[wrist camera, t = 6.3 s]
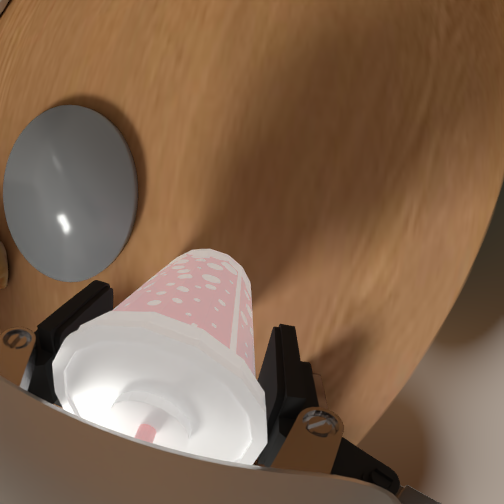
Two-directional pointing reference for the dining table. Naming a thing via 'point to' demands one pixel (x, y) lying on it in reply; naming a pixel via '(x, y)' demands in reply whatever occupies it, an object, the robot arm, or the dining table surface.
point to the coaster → (70, 193)
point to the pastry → (3, 267)
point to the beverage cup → (173, 362)
